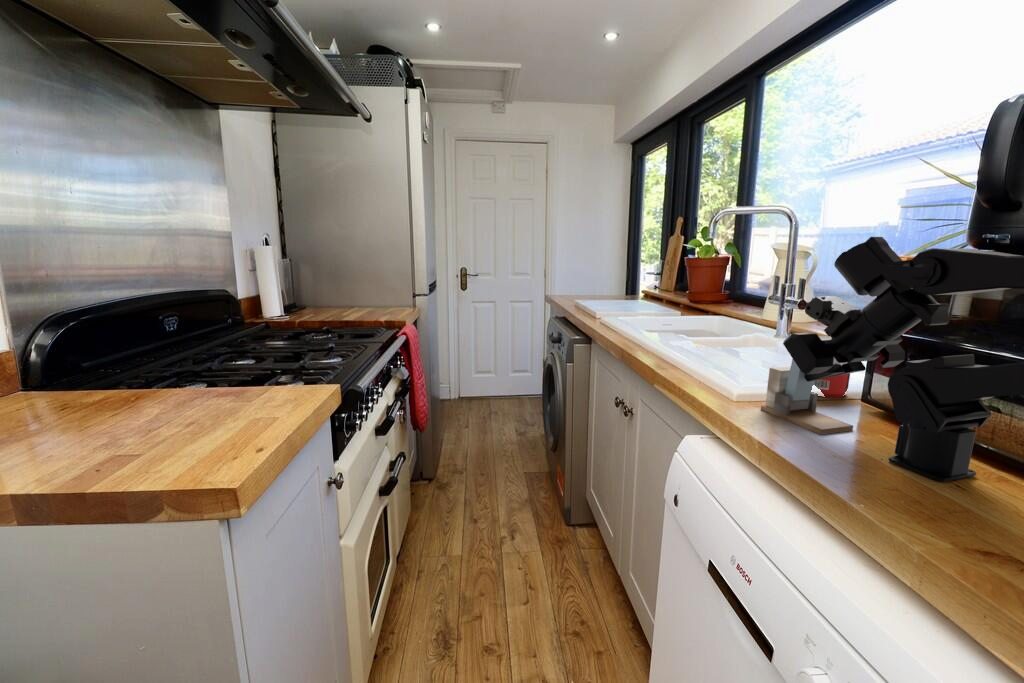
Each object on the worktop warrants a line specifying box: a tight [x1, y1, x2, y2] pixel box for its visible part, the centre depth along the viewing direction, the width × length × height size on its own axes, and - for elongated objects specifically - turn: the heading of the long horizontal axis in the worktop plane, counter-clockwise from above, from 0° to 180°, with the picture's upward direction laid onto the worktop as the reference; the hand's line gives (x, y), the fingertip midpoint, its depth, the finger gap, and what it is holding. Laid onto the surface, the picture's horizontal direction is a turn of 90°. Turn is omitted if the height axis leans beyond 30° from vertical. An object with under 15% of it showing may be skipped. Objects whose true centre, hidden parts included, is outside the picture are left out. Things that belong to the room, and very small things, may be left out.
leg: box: [785, 358, 814, 411], centre depth 79 cm, size 2×4×11 cm, turn 106°
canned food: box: [813, 335, 851, 399], centre depth 93 cm, size 8×8×11 cm
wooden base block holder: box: [760, 365, 854, 435], centre depth 78 cm, size 12×6×8 cm, turn 16°
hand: (807, 379), depth 78 cm, fingers closed, pressing on leg
